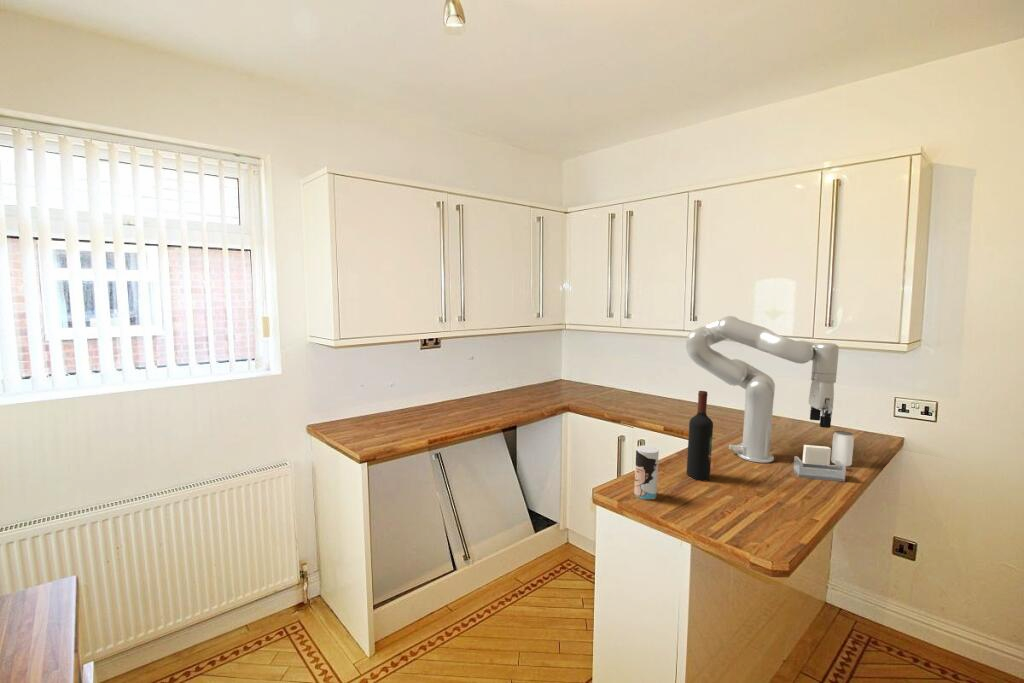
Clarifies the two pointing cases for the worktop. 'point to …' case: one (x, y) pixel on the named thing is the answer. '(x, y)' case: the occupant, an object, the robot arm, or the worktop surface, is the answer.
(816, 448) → the plain white block
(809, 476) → the track
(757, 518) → the worktop surface
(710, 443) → the wine bottle
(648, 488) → the cup
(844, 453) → the can
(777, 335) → the robot arm
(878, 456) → the worktop surface
